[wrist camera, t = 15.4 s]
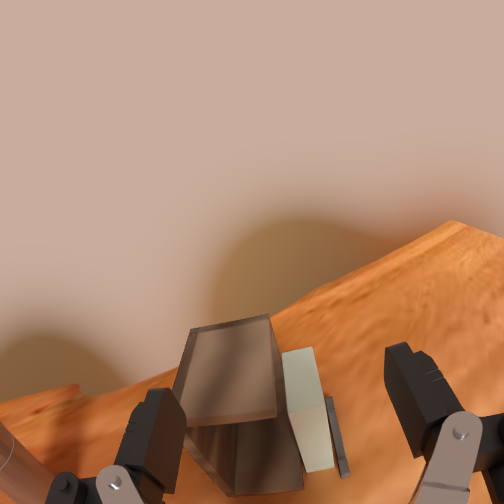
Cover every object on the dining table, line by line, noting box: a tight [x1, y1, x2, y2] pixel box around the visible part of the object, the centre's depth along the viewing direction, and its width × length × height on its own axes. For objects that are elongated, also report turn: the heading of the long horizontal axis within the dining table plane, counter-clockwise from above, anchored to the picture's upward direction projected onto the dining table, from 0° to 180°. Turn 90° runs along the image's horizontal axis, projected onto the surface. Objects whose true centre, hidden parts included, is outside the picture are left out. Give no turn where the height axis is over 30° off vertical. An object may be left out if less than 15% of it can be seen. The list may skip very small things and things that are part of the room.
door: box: [282, 346, 334, 473], centre depth 31 cm, size 4×9×14 cm, turn 1°
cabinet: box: [172, 314, 349, 497], centre depth 31 cm, size 15×14×18 cm
